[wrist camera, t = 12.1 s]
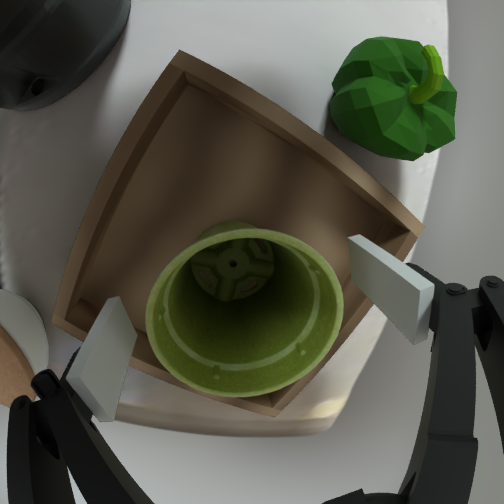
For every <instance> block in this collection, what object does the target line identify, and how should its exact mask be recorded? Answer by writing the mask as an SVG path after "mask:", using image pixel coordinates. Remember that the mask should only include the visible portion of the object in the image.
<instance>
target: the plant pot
mask: <svg viewBox="0 0 504 504" xmlns="http://www.w3.org/2000/svg"><path fill="white" fill-rule="evenodd" d="M254 238H259V239H260V240H261V241H262V243H263V244H264V246H265V248H266V250H265V252H264V253H263V252H262V251H261V249H260V247H259V245H258V244H257V242H256V241H255V240H254ZM231 260H234V261H235V262H236V266H235V267H231V266H230V264H229V263H230V261H231ZM201 271H203V272H204V274H205V275H206V277H207V278H208V280H209V281H210V282H211V283H212V286H211V285H210V286H209V285H207V283H206V282H205V281H204V280H203V279H202V278H201V276H200V272H201ZM253 281H257V284H256V285H255V286H254V287H253V288H251V289H249V290H247V291H241V288H243V287H245V286H247V285H249V284H251V283H252V282H253ZM343 308H344V303H343V293H342V289H341V285H340V283H339V281H338V278H337V276H336V274H335V272H334V271H333V269H332V267H331V266H330V264H329V263H328V262H327V261H326V260H325V259H324V257H323V256H321V255H320V254H319V253H318V252H317V251H316V250H315V249H313V248H312V247H310V246H309V245H308V244H306V243H304V242H303V241H301V240H299V239H297V238H295V237H293V236H290V235H287V234H285V233H281V232H277V231H274V230H268V229H259V228H257V227H255V226H253V225H251V224H248V223H245V222H239V221H227V222H222V223H219V224H216V225H214V226H212V227H210V228H208V229H207V230H206V231H205V232H203V233H202V234H201V235H200V236H199V238H198V239H197V240H196V242H195V243H193V244H191V245H190V246H188V247H187V248H185V249H184V250H182V251H181V252H180V253H179V254H178V255H176V256H175V257H174V258H173V259H172V260H171V261H170V262H169V263H168V264H167V266H166V267H165V268H164V269H163V271H162V272H161V274H160V275H159V277H158V278H157V280H156V282H155V284H154V286H153V288H152V290H151V292H150V295H149V298H148V301H147V307H146V315H145V323H146V331H147V335H148V339H149V342H150V345H151V347H152V349H153V352H154V353H155V355H156V357H157V358H158V360H159V361H160V362H161V364H162V365H163V366H164V367H165V368H166V369H167V370H168V371H169V372H170V373H171V374H172V375H173V376H174V377H176V378H177V379H178V380H180V381H181V382H183V383H185V384H187V385H189V386H190V387H192V388H194V389H196V390H199V391H202V392H205V393H209V394H213V395H218V396H224V397H250V396H257V395H262V394H266V393H270V392H273V391H276V390H279V389H281V388H283V387H285V386H287V385H290V384H292V383H293V382H295V381H297V380H299V379H300V378H302V377H303V376H305V375H306V374H307V373H309V372H310V371H311V370H312V369H313V368H315V367H316V366H317V364H318V363H319V362H320V361H321V360H322V359H323V358H324V357H325V355H326V354H327V353H328V351H329V350H330V348H331V347H332V345H333V343H334V341H335V340H336V338H337V336H338V333H339V330H340V327H341V323H342V319H343Z"/></svg>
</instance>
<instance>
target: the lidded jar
mask: <svg viewBox="0 0 504 504" xmlns="http://www.w3.org/2000/svg"><path fill="white" fill-rule="evenodd" d="M48 360H49V345H48V339H47V335H46V332H45V328H44V324H43V321H42V318H41V316H40V314H39V313H38V311H37V310H36V309H35V307H34V306H33V305H32V304H31V303H30V302H29V301H28V300H27V299H25V298H24V297H22V296H20V295H17V294H14V293H12V292H10V291H7V290H2V289H0V404H2V405H4V406H7V407H9V408H10V406H11V404H12V402H13V400H14V399H15V398H17V397H19V396H21V395H27V396H28V397H29V398H30V399H31V400H32V402H34V400H35V398H36V395H37V394H36V393H35V391H34V390H33V389H32V387H31V381H32V379H33V377H34V376H35V375H36V374H37V373H39V372H40V371H42V370H45V369H47V366H48Z"/></svg>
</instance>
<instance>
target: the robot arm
mask: <svg viewBox="0 0 504 504" xmlns="http://www.w3.org/2000/svg"><path fill="white" fill-rule="evenodd" d="M130 3H131V0H0V108H4V109H11V110H18V111H28V110H34V109H38V108H42V107H44V106H47V105H49V104H51V103H53V102H55V101H57V100H59V99H60V98H62V97H64V96H65V95H67V94H68V93H70V92H71V91H72V90H74V89H75V88H76V87H77V86H79V85H80V84H81V83H82V82H83V81H84V80H85V79H87V78H88V77H89V76H90V75H91V74H92V73H93V72H94V70H95V69H96V68H97V67H98V66H99V65H100V64H101V63H102V61H103V60H104V59H105V58H106V56H107V55H108V54H109V52H110V51H111V49H112V48H113V46H114V45H115V43H116V42H117V40H118V38H119V36H120V34H121V32H122V30H123V28H124V26H125V23H126V21H127V18H128V14H129V10H130ZM348 244H349V256H350V268H351V281H352V282H353V283H354V284H355V285H356V286H357V287H358V288H359V289H360V290H361V291H362V292H363V293H364V294H365V295H366V296H367V297H368V298H369V299H370V300H371V301H372V302H373V303H374V304H375V305H376V306H377V307H378V308H379V309H380V310H381V311H382V312H383V313H384V314H385V315H386V316H387V317H388V319H389V320H390V321H391V322H392V323H393V324H394V325H395V326H396V327H397V328H398V329H399V330H400V331H401V332H402V333H403V334H404V336H405V337H406V338H407V339H409V341H410V342H411V343H412V344H413V345H416V344H418V343H420V342H422V341H424V340H426V339H427V337H428V331H429V328H430V329H431V330H432V331H433V332H434V336H433V342H432V347H431V352H432V354H431V363H430V371H429V378H428V385H427V391H426V397H425V402H424V407H423V412H422V417H421V422H420V426H419V430H418V434H417V438H416V442H415V446H414V450H413V454H412V457H411V460H410V464H409V467H408V470H407V473H406V475H405V478H404V480H403V482H402V484H401V487H400V489H399V492H398V494H393V493H370V494H364V492H363V490H362V489H359V490H356V491H354V492H351V493H348V494H346V495H343V496H340V497H337V498H334V499H331V500H328V501H326V502H324V503H322V504H468V500H469V496H470V491H471V487H472V482H473V477H474V472H475V466H476V459H477V452H478V440H477V438H474V437H473V429H474V417H475V398H476V361H475V346H476V349H477V352H478V355H479V357H480V360H481V363H482V366H483V369H484V372H485V375H486V379H487V382H488V386H489V389H490V392H491V396H492V400H493V404H494V408H495V411H496V416H497V421H498V425H499V430H500V435H501V441H502V447H503V453H504V281H502V280H501V279H500V278H498V277H496V276H485V277H483V278H482V279H481V280H480V284H479V288H476V289H471V290H468V289H467V288H466V287H465V286H463V285H461V284H457V283H448V284H444V283H443V282H441V281H440V280H438V279H437V278H435V277H434V276H432V275H431V274H429V273H428V272H427V271H424V269H422V268H420V267H419V266H417V265H415V264H412V263H406V264H404V263H403V262H401V261H400V260H398V259H397V258H395V257H394V256H392V255H391V254H389V253H388V252H386V251H385V250H383V249H382V248H380V247H379V246H377V245H376V244H374V243H373V242H371V241H369V240H368V239H366V238H365V237H363V236H362V235H360V234H359V235H355V236H351V237H348ZM137 336H138V335H137V333H136V331H135V329H134V327H133V325H132V323H131V321H130V319H129V317H128V314H127V312H126V310H125V308H124V306H123V303H122V301H121V299H120V297H119V296H117V297H113V298H109V299H107V301H106V303H105V305H104V306H103V308H102V310H101V312H100V313H99V315H98V317H97V319H96V320H95V322H94V324H93V326H92V328H91V330H90V331H89V333H88V335H87V337H86V339H85V341H84V343H83V345H82V346H81V347H79V348H78V349H77V351H76V352H75V353H74V354H73V356H72V357H71V359H70V362H69V363H68V365H67V368H66V369H65V371H64V373H63V375H62V377H61V379H60V381H59V379H58V378H57V376H56V375H55V374H54V372H53V371H52V370H51V369H45V370H42V371H40V372H39V373H37V374H36V375H35V376H34V377H33V379H32V381H31V387H32V389H33V390H34V391H35V393H36V394H37V395H38V396H39V398H40V399H41V400H38V401H35V402H32V400H31V399H30V398H29V397H28V396H27V395H21V396H19V397H17V398H15V399H14V400H13V402H12V404H11V406H10V413H9V422H8V437H7V488H8V501H9V504H76V503H75V499H74V495H73V491H72V487H71V483H70V478H69V473H68V469H67V466H68V468H69V470H70V473H71V475H72V477H73V479H74V480H75V482H76V484H77V486H78V488H79V490H80V492H81V493H82V495H83V497H84V499H85V500H86V502H87V504H154V503H153V502H152V500H151V499H150V498H149V497H148V496H147V495H146V494H145V493H144V491H143V490H142V489H141V488H140V487H139V486H138V484H137V483H136V482H135V481H134V479H133V478H132V477H131V476H130V474H129V473H128V472H127V471H126V469H125V468H124V466H123V465H122V464H121V462H120V461H119V460H118V459H117V457H116V456H115V454H114V453H113V451H112V450H111V449H110V447H109V446H108V444H107V443H106V441H105V440H104V438H103V437H102V435H101V434H100V432H99V431H98V429H97V427H96V426H95V424H94V423H93V422H92V421H91V418H92V415H94V416H95V417H96V418H97V419H98V420H99V421H100V422H109V421H110V422H112V421H114V418H115V414H116V410H117V406H118V402H119V398H120V394H121V391H122V387H123V383H124V379H125V376H126V372H127V369H128V365H129V362H130V359H131V355H132V352H133V349H134V345H135V342H136V339H137Z"/></svg>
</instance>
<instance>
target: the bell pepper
mask: <svg viewBox="0 0 504 504" xmlns="http://www.w3.org/2000/svg"><path fill="white" fill-rule="evenodd" d="M332 86H333V89H334V91H335V93H336V95H335V96H334V98H333V99H332V100H331V101H330V103H329V104H330V115H331V117H332V119H333V121H334V123H335V124H336V126H337V128H338V130H339V131H340V133H341V134H342V135H343V136H345V137H346V138H348V139H350V140H352V141H353V142H355V143H357V144H359V145H360V146H362V147H364V148H365V149H367V150H369V151H371V152H374V153H376V154H378V155H380V156H384V157H390V158H395V159H401V160H408V161H414V160H416V159H417V158H419V157H421V156H422V155H423V154H424V152H425V153H430V152H432V151H434V150H436V149H438V148H440V147H442V146H444V145H445V144H447V143H449V142H451V141H452V140H454V139H455V123H454V115H455V107H456V97H457V91H456V90H455V89H454V87H453V86H452V84H451V83H450V82H449V80H448V79H447V78H446V76H445V75H444V72H443V66H442V61H441V57H440V56H439V54H438V52H437V50H436V49H435V47H434V46H431V45H426V46H424V47H423V46H422V45H421V43H420V42H418V41H412V40H406V39H398V38H390V37H375V38H370V39H366V40H365V41H363V42H361V43H360V44H358V45H357V46H355V47H354V48H353V49H352V50H351V52H350V53H349V55H348V56H347V57H346V59H345V60H344V62H343V64H342V65H341V67H340V69H339V71H338V73H337V74H336V76H335V78H334V80H333V82H332Z"/></svg>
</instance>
